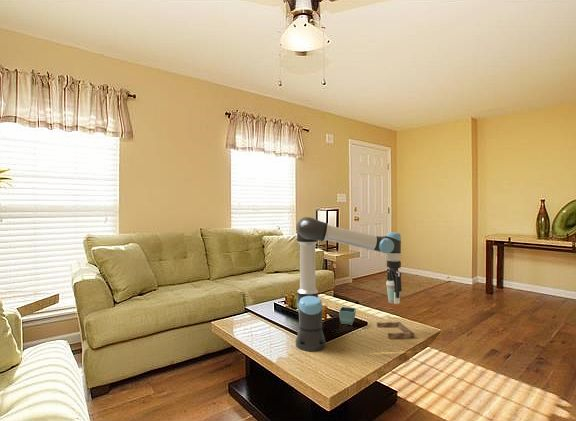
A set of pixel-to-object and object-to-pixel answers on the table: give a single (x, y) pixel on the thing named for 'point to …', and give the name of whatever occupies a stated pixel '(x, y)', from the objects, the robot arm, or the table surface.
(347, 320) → the flower pot
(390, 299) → the coffee cup
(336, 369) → the table surface
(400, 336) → the bay
